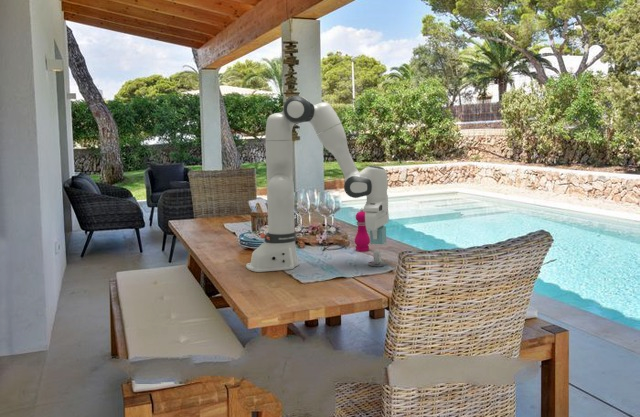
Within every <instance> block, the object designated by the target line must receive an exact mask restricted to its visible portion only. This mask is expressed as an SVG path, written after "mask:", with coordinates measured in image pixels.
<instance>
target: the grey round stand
mask: <svg viewBox="0 0 640 417" xmlns="http://www.w3.org/2000/svg"><path fill="white" fill-rule="evenodd" d="M372 253H373V254H372V255H373V258H372V260H373V261H368V262H367V265H368V266H369V267H372V266H373V268H382V267H386V266H387V265H388V262H387V261H383V260H382V251H381V250H374V251H373V252H372Z"/></svg>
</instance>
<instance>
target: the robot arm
mask: <svg viewBox="0 0 640 417" xmlns="http://www.w3.org/2000/svg"><path fill="white" fill-rule="evenodd" d="M306 122H308V123H309V124H311V126H312V127H313V129H314V131H315V134H316V135H317V139H318V140H319V141H320V143H321V145H322V146H323V147H324V148H325V150H326V151H327V152H329V153H330V154H332V156H333V157H334V158H335V159H336V161H337V164H338V167H339V168H340V170H341V172H342V174H343V178H344V179H343V180H344V182H343V183H344V184H343V190H344V192H345V194H346V195H347V196H348V197H349V198H353V199H359V198H363V197H366V202H365V205H364V206H363V209H364V212H365V224H366V230H367V231H369V232H370V231H372V234H373V239H378V234H377V231H378V228H380V227H382V226H385V225H387V224H388V223H389V220H390V218H389V216H390V214H389V195H388V186H389V185H388V184H389V183H388V173H387V170H386V169H385V168H384V167H381V166H377V165H368V166H367V167H366V168H364V169H362V170H359V169H358V168H357V166H356V164H355V161H354V159H353V157H352V156H351V154H350V151H349V150H350V149H349V146H348V140H347V135H346V131H345V129H344V126H343V124H342V122H341V119H340V118H339V116H338V114H337V112H336V111H335V109H334V107H333V106H332V105H331V104H330V103H328V102H326V101H325V102H318V103H317V104H312V103H311V102H310V100H309V99H307V98H306V97H305V96H303V95H293V96H291V97H288V98H287V99H286V100H285V102H284V104H283V108H282V111H281V112H275V113H272V114H270V115H269V116H268V117H267V119H266V123H265V124H266V125H265V137H264V138H265V162H266V165H265V166H266V181H267V182H266V198H267V230H268V232H267V233H266V234H265V233H264V232H262V233H261V234H260V238H261V239H264V242H262V244H260V245H259V246H258V247H257V248H256V249H255V250H253V251H252V254H251V260H250V262H247V263H246V265H245V268H246V269H247V270H249V271H252V272H256V273H263V272H275V271H287V270H293V269H294V268H295V267H298V266H299V265H300V262H299V258H298V255H297V248H296V244H297V234H296V231H295V188H294V178H293V177H294V173H293V172H294V171H293V170H294V169H293V167H294V166H293V164H294V163H293V161H294V160H293V158H294V157H293V154H294V153H293V128H294V126H295V125H298V124H302V123H306Z"/></svg>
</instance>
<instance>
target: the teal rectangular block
mask: <svg viewBox="0 0 640 417" xmlns="http://www.w3.org/2000/svg"><path fill="white" fill-rule="evenodd" d="M369 232H370V236H369V238H370V243H369V245H370V244H371V245H384V244H385V243H387V226H385V225H384V226H382V227H380V228H378V231H377V234H378V239H373V234H372V231H370V230H369Z"/></svg>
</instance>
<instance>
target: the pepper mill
mask: <svg viewBox="0 0 640 417" xmlns="http://www.w3.org/2000/svg"><path fill="white" fill-rule="evenodd" d="M359 209H360V210H359V211H358V212H357V213H356V214H355V221H356V225H357V233H356V235H355V236H354V244H355V245H356V246H355V251H356V252H363V253H364V252H368V251H369V250H370V246H369V245H370V236H369V234H368V230H367V229H366V224H365V212H364V207H361V208H359Z"/></svg>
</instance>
